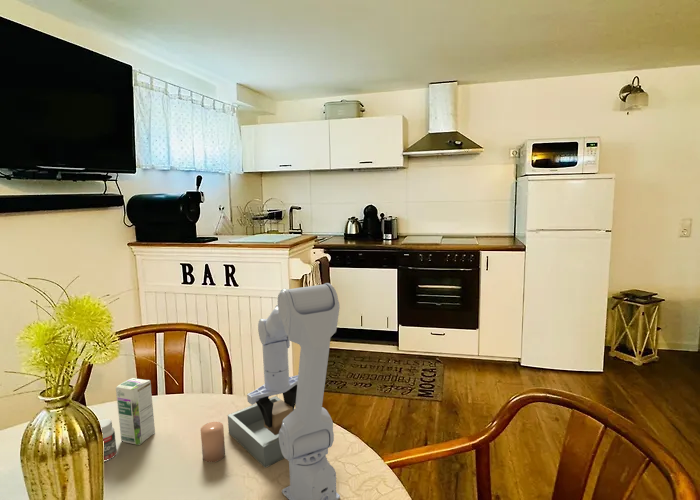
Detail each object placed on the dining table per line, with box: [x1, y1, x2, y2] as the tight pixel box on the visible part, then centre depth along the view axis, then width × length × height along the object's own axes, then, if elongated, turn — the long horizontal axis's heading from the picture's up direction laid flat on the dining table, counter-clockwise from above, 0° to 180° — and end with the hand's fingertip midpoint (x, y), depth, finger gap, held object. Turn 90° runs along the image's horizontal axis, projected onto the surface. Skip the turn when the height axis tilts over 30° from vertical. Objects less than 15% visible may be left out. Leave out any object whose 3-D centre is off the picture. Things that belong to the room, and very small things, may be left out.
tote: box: [227, 395, 285, 468], centre depth 105 cm, size 18×14×5 cm
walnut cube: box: [264, 399, 293, 435], centre depth 102 cm, size 5×5×5 cm
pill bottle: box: [98, 418, 118, 460], centre depth 99 cm, size 5×5×8 cm
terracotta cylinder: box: [200, 421, 226, 463], centre depth 99 cm, size 5×5×7 cm
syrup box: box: [115, 377, 156, 446], centre depth 106 cm, size 6×6×14 cm
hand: (278, 421), depth 102 cm, fingers closed on walnut cube, 5 cm apart
